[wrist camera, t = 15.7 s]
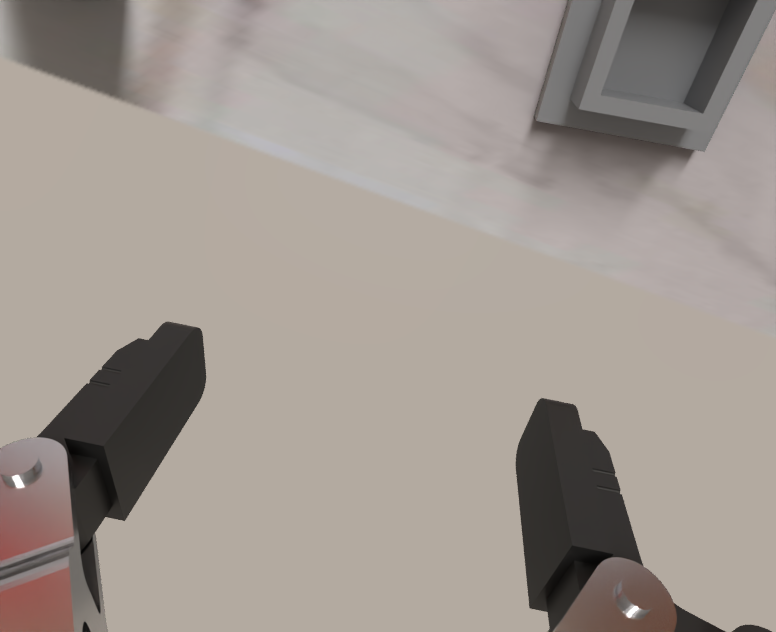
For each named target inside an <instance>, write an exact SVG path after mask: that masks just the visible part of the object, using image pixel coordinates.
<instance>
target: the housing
mask: <svg viewBox="0 0 776 632" xmlns="http://www.w3.org/2000/svg"><path fill="white" fill-rule="evenodd" d="M775 10H776V0H568V4H567V7H566V11H565V14H564V17H563V21H562V24H561V28H560V31H559V34H558V38H557V41H556V45H555V48H554V51H553V55H552V58H551V61H550V65H549V68H548V72H547V75H546V78H545V82H544V85H543V89H542V92H541V95H540V99H539V102H538V105H537V109H536V112H535V116H534V117H535V119H536V121H539V122H544V123H550V124H555V125H561V126H566V127H572V128H577V129H583V130H588V131H594V132H599V133H604V134H610V135H615V136H621V137H626V138H632V139H637V140H643V141H648V142H654V143H659V144H664V145H670V146H675V147H681V148H686V149H692V150H697V151H703V152H705V150H706V148H707V146H708V144H709V142H710V140H711V138H712V136H713V134H714V132H715V130H716V128H717V126H718V124H719V122H720V120H721V118H722V116H723V114H724V112H725V110H726V108H727V106H728V104H729V102H730V100H731V98H732V96H733V94H734V92H735V90H736V88H737V86H738V84H739V82H740V80H741V78H742V76H743V74H744V72H745V70H746V68H747V66H748V64H749V62H750V60H751V58H752V56H753V54H754V52H755V50H756V48H757V46H758V44H759V42H760V40H761V38H762V36H763V34H764V32H765V30H766V28H767V26H768V24H769V22H770V20H771V18H772V16H773V14H774V12H775Z"/></svg>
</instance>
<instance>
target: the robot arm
mask: <svg viewBox="0 0 776 632" xmlns="http://www.w3.org/2000/svg"><path fill="white" fill-rule="evenodd" d="M205 383H206V369H205V358H204V346H203V336H202V331H201V329H200V328H197V327H192V326H187V325H182V324H177V323H172V322H165V323H163V324H162V325H161V326H160V327H159V329H158V330H157V331H156V332H155V333H154V335H153V336H152V337H151V338H150V339H149V340H144V339H137V340H135V341H133V342H131V343H130V344H128V345H126V346H125V347H123V348H121V349H119V350H117V351H116V352H115V353H114V354H113V356H112V357H111V358H110V359H109V360H108V361H107V362H106V363H105V364H104V365H103V367H102V370H99V371H98V372H97V373H96V374H95V375H94V376H93V377H92V378H91V379H90V383H89V384H86V385H85V386H84V387H83V388H82V389H81V390H80V391H79V392H78V393H77V395H76V396H75V397H74V398H73V399H72V400H71V401H70V402H69V403H68V404H67V406H65V407H64V409H63V410H62V411H61V412H60V413H59V414H58V415H57V416H56V417H55V418H54V419H53V421H52V422H51V423H50V424H49V425H48V426H47V427H46V428H45V429H44V430H43V431H42V432H41V433H40V434H39V435H38V436H37V437H35V438H27V439H22V440H18V441H15V442H12V443H10V444H7V445H5V446H3V447H2V448H0V632H108V629H107V625H106V618H105V609H104V601H103V592H102V584H101V576H100V568H99V559H98V550H97V541H96V535H95V531H96V530H97V529H98V527H99V526H100V524H101V523H102V521H103V520H104V518H105V517H109V518H114V519H118V520H123V521H125V520H126V518H127V516H128V515H129V513H130V512H131V510H132V508H133V507H134V505H135V504H136V502H137V500H138V499H139V497H140V496H141V494H142V492H143V491H144V489H145V487H146V486H147V484H148V483H149V481H150V480H151V478H152V476H153V475H154V473H155V472H156V470H157V468H158V467H159V465H160V463H161V462H162V460H163V459H164V457H165V456H166V454H167V452H168V451H169V449H170V448H171V446H172V444H173V443H174V441H175V440H176V438H177V436H178V435H179V433H180V432H181V430H182V428H183V427H184V425H185V423H186V422H187V420H188V419H189V417H190V415H191V414H192V412H193V411H194V409H195V407H196V406H197V404H198V402H199V401H200V399H201V397H202V394H203V391H204V388H205ZM516 474H517V483H518V494H519V505H520V515H521V525H522V535H523V545H524V556H525V566H526V576H527V586H528V596H529V606H530V608H532V609H536V610H541V611H546V612H548V618H549V626H550V629H549V630H548V632H725V631H723V630H721V629H719V628H717V627H716V626H714V625H712V624H710V623H708V622H706V621H704V620H702V619H700V618H698V617H696V616H695V615H693V614H691V613H689V612H687V611H685V610H684V609H682V608H680V607H679V606H677V605H676V604H675V603H674V602H673V600H672V598H671V596H670V594H669V592H668V591H667V589H666V588H665V586H664V585H663V584H662V582H661V581H660V580H659V579H658V578H657V577H656V576H655V575H654V574H652V572H650V571H649V570H648V569H647V568H645V567H644V566H643V564H642V561H641V558H640V555H639V551H638V548H637V545H636V541H635V538H634V534H633V531H632V528H631V524H630V521H629V517H628V514H627V511H626V507H625V504H624V500H623V497H622V495H621V494H620V487H619V484H618V480H617V477H615V470H614V467H613V464H612V460H611V457H610V453H609V451H608V450H607V448H606V447H605V446H604V444H603V443H602V441H601V440H600V439H599V437H598V436H597V434H596V433H595V432H593V431H588V430H583V429H582V426H581V422H580V418H579V415H578V410H577V408H576V406H575V405H573V404H568V403H564V402H559V401H554V400H549V399H544V398H542V399H540V400H539V401H538V402H537V405H536V406H535V409H534V411H533V413H532V415H531V417H530V420H529V422H528V424H527V426H526V428H525V430H524V433H523V435H522V437H521V439H520V442H519V445H518V449H517V454H516ZM732 632H772V631H769V630H768V629H765V628H762V627H759V626H754V625H743V626H740V627H738V628H736V629H735V630H734V631H732Z"/></svg>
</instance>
